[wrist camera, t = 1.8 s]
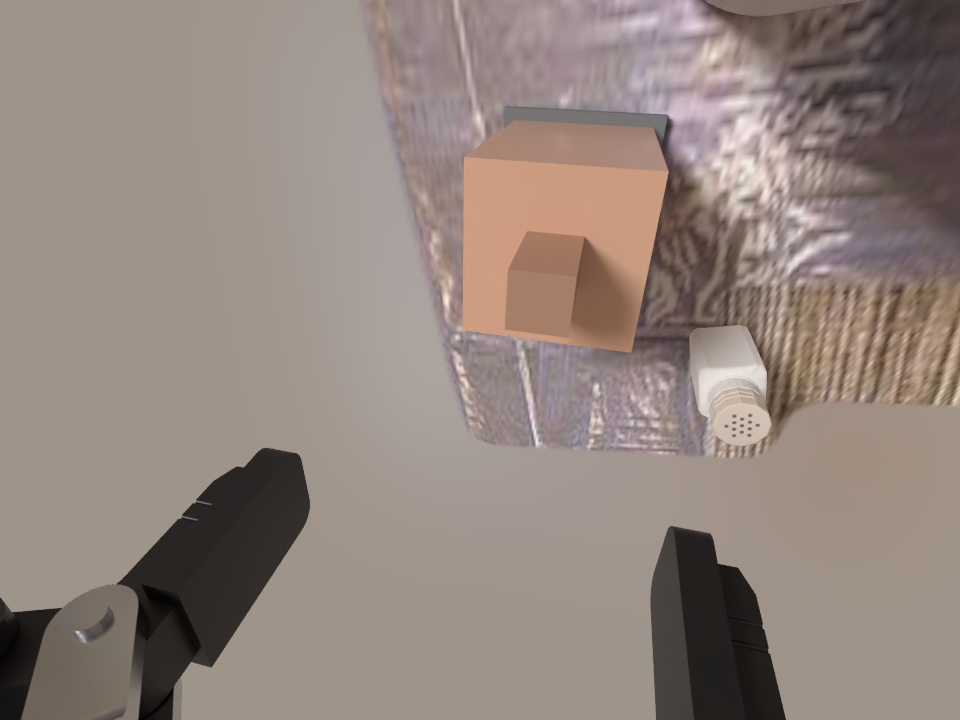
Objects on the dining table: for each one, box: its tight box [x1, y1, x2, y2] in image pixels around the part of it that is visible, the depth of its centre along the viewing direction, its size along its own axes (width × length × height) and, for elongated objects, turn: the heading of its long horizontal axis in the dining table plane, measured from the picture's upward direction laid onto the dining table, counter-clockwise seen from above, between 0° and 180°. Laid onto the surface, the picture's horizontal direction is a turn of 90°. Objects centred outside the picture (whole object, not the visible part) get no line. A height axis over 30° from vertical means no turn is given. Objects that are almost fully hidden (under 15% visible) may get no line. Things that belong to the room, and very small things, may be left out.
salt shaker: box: [689, 325, 772, 446], centre depth 35 cm, size 4×4×10 cm
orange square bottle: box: [463, 120, 669, 353], centre depth 28 cm, size 9×9×18 cm
